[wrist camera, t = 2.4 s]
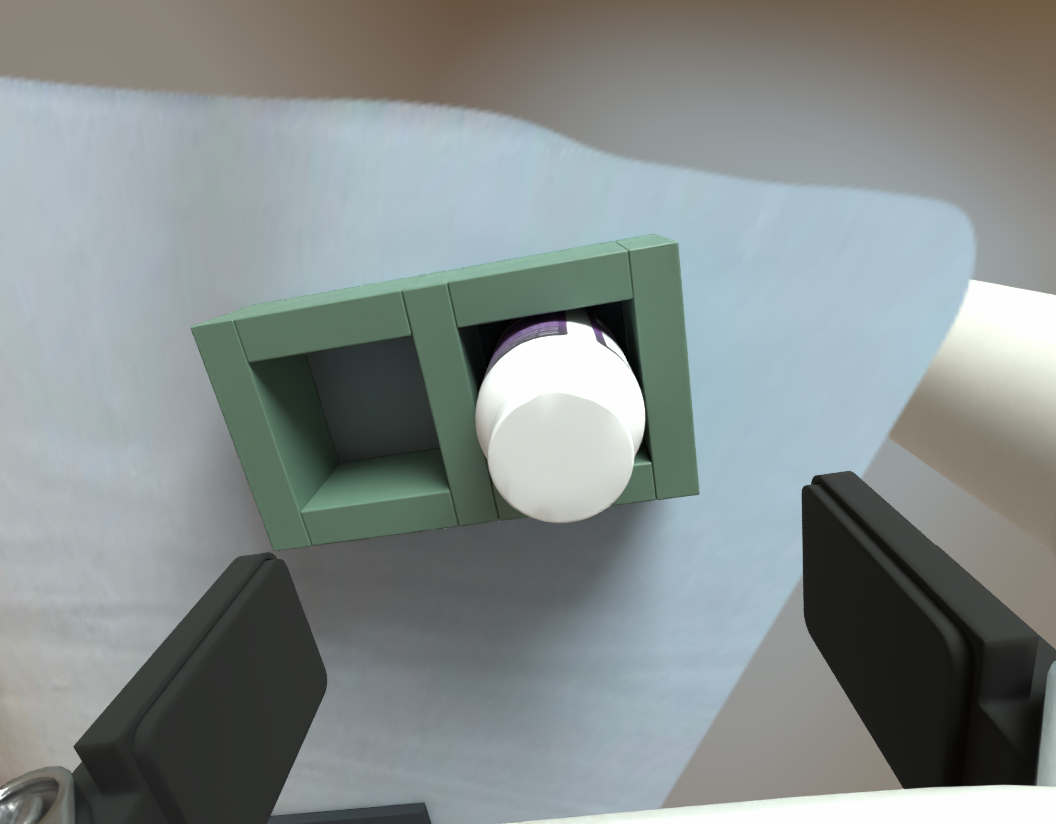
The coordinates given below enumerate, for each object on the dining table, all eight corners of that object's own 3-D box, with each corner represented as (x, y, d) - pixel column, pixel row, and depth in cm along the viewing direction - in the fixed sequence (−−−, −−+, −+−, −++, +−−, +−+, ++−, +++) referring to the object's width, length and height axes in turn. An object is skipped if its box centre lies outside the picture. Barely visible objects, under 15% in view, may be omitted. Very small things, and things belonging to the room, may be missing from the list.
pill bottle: (483, 408, 25) (444, 524, 16) (507, 287, 24) (480, 341, 15) (602, 434, 26) (631, 563, 17) (636, 316, 24) (688, 387, 15)
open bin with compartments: (654, 233, 23) (678, 240, 18) (675, 446, 26) (699, 494, 22) (252, 304, 24) (189, 326, 20) (316, 497, 27) (273, 551, 23)
